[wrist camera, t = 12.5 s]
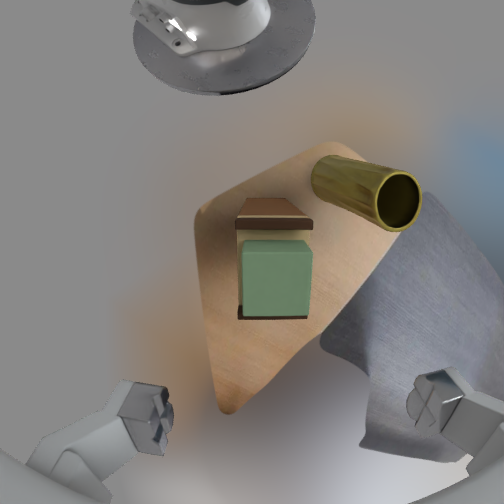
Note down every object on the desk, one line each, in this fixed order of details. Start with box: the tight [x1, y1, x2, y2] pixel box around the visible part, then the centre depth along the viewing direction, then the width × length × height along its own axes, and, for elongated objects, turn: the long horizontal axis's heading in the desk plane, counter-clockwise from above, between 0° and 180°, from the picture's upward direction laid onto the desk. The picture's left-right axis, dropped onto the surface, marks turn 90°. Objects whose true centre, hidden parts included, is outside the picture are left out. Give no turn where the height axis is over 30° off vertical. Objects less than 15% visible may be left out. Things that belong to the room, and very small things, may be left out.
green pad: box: [241, 240, 313, 316], centre depth 17 cm, size 4×4×3 cm
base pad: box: [235, 198, 313, 320], centre depth 27 cm, size 7×5×18 cm
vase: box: [311, 155, 422, 232], centre depth 27 cm, size 6×6×14 cm
